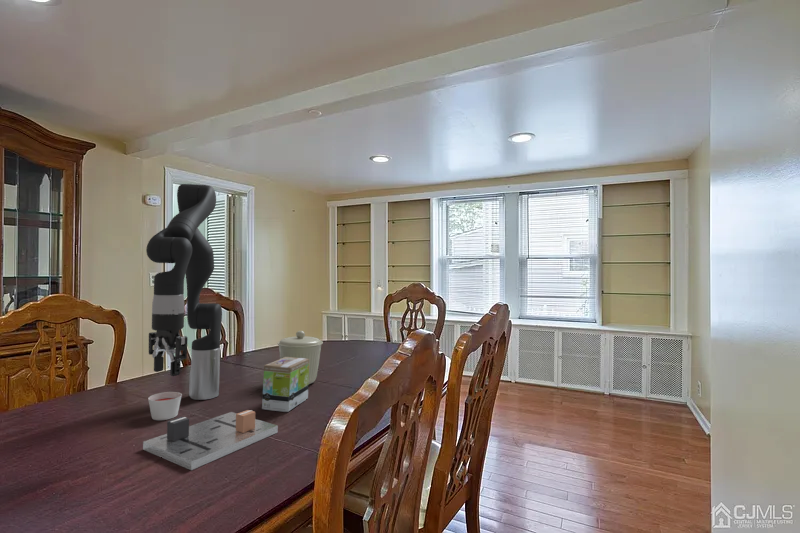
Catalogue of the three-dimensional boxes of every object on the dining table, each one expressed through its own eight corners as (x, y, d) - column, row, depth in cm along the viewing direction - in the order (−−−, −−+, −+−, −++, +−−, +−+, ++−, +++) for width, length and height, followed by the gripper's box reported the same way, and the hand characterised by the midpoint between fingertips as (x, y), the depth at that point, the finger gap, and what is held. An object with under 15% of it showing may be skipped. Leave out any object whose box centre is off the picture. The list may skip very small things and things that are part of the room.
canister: (298, 391, 155) (300, 335, 155) (266, 383, 164) (267, 331, 165) (331, 381, 170) (332, 330, 170) (299, 374, 180) (300, 326, 180)
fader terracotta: (235, 430, 112) (236, 413, 112) (247, 425, 115) (248, 409, 115) (243, 433, 110) (243, 415, 110) (255, 428, 114) (255, 411, 114)
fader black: (166, 438, 106) (167, 420, 106) (181, 433, 109) (182, 416, 109) (173, 441, 104) (174, 423, 104) (188, 436, 107) (189, 418, 108)
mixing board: (142, 449, 104) (143, 441, 104) (231, 418, 126) (231, 411, 126) (191, 470, 94) (191, 461, 94) (277, 432, 116) (277, 425, 116)
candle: (187, 414, 129) (188, 394, 129) (160, 424, 121) (161, 402, 121) (168, 410, 133) (169, 390, 133) (140, 418, 124) (141, 397, 125)
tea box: (289, 412, 132) (290, 367, 132) (261, 410, 134) (262, 364, 134) (309, 398, 147) (310, 357, 147) (283, 396, 149) (284, 355, 149)
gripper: (138, 310, 110) (137, 372, 110) (170, 314, 103) (168, 380, 103) (166, 308, 117) (165, 367, 116) (198, 312, 109) (196, 374, 109)
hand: (166, 373), depth 110 cm, fingers open, 7 cm apart
